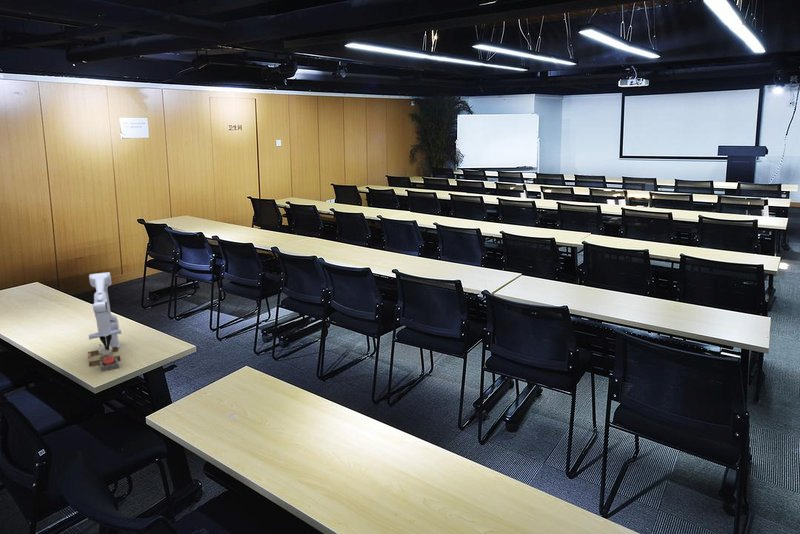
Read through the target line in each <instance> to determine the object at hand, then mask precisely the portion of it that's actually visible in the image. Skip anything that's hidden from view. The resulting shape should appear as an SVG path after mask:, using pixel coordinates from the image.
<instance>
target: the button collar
mask: <svg viewBox="0 0 800 534" xmlns="http://www.w3.org/2000/svg"><path fill="white" fill-rule="evenodd" d="M114 361H115V363H114V364H110V365H105V366H104V363H103V361H100V365H99V367H100V370H101V371H102V372H107V371H111V369H112V370H115V369H119V368H120V365H119V361H118V360H117V358H114ZM106 370H107V371H106ZM101 371H100V372H101Z"/></svg>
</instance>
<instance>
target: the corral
mask: <svg viewBox="0 0 800 534" xmlns="http://www.w3.org/2000/svg"><path fill="white" fill-rule="evenodd" d="M112 348H113V349H114V350H113V353H115V352H116V353H117V352H118V351H119V348H118V347H117V346H116V347H112ZM98 351H99V349H96V350H91V351H87V356H88V364H89V367H90V368H91V366H92V367H97V366H100V361H103V359H102V358H100V359H96V360H95V359H94V360H92V357H96V356H100V355H99V354H98V353H97V352H98ZM95 355H96V356H95ZM113 357H114V358H117V360H118V362H121V361H122V359H121V355H116V356H113ZM96 365H97V366H96Z"/></svg>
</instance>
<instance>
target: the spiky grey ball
mask: <svg viewBox="0 0 800 534" xmlns="http://www.w3.org/2000/svg"><path fill="white" fill-rule="evenodd" d="M98 345H99V348H98V350H99V351H98V352H97V353H98V354H99V355H98V356H100V359H104V358H106V357H108V356H110V357H113V353H114V352H113V350H114V349H113V348H112V347H111V345H109V350H106V348H105V346H104V345H103V344H98Z"/></svg>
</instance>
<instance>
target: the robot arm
mask: <svg viewBox="0 0 800 534" xmlns="http://www.w3.org/2000/svg"><path fill="white" fill-rule="evenodd" d="M88 278H89V279H88V280H89V284H90V285H91V287H92V288H95V290H96V291H95V292H94V294H93V303H92V309H93V314H94V316H95V317H94V318H95V320H96V327H97V332H95V333H90V334H88V340H93V339H98V338H99V341H101V343H102V345H104V346H105V348H106V350H109V345H111V347H116V346H117V347H118V349H119V348H121V344H120V342H119V339H118V337H119V336H118V335H121V334H122V329H120V328H119V327H120V326H119V320H118V316H116V315H115V314H113V313H112V311H111V305H110V304H111V303H110V299H109V293H108V291H109V290H108V287H109V286H111V285H112V275H111V272H109V271H108V272H99V273H98V272H97V273H90V274H89V275H88Z"/></svg>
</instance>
